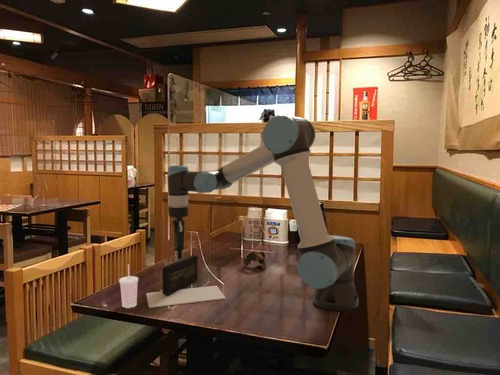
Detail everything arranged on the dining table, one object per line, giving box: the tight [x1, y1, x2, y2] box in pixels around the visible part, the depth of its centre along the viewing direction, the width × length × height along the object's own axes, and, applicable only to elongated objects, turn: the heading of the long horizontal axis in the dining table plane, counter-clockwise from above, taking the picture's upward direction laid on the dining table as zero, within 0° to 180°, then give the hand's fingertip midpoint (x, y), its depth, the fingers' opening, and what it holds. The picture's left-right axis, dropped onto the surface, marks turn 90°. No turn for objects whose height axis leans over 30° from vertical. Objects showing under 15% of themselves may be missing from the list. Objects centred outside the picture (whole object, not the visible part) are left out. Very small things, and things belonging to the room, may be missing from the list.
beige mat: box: [145, 285, 226, 309], centre depth 140 cm, size 13×26×1 cm, turn 108°
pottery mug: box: [242, 250, 267, 271], centre depth 175 cm, size 12×10×8 cm
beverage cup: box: [118, 264, 139, 309], centre depth 132 cm, size 6×6×14 cm
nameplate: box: [161, 254, 199, 295], centre depth 148 cm, size 21×2×10 cm, turn 157°
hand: (179, 266), depth 153 cm, fingers closed
